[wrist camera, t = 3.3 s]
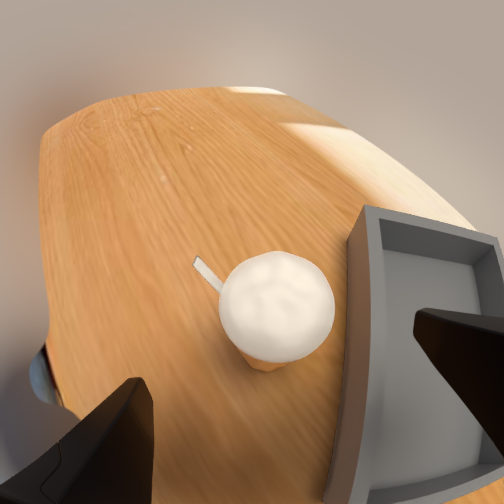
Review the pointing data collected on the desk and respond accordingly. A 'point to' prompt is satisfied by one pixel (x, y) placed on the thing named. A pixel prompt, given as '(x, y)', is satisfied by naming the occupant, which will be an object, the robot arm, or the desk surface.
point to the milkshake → (273, 307)
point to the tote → (409, 364)
